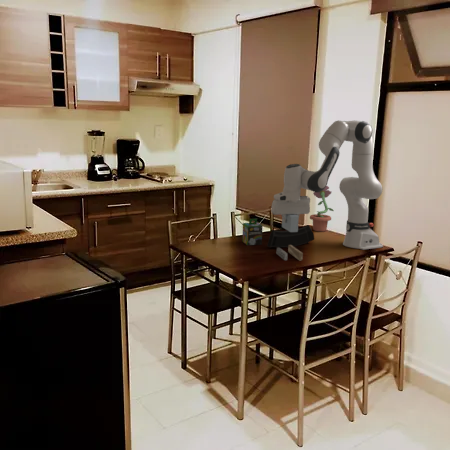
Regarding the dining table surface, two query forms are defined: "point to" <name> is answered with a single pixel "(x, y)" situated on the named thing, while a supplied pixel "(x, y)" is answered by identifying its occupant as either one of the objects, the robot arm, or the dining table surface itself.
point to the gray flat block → (281, 253)
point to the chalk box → (252, 233)
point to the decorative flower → (321, 212)
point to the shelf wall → (295, 252)
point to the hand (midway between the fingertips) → (289, 222)
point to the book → (291, 222)
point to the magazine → (290, 237)
